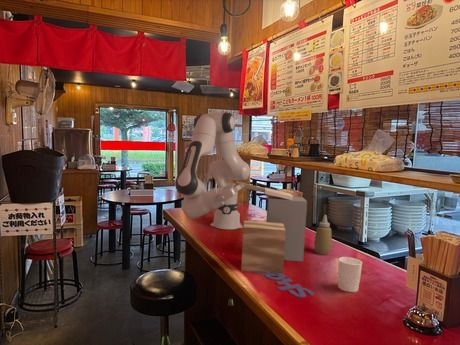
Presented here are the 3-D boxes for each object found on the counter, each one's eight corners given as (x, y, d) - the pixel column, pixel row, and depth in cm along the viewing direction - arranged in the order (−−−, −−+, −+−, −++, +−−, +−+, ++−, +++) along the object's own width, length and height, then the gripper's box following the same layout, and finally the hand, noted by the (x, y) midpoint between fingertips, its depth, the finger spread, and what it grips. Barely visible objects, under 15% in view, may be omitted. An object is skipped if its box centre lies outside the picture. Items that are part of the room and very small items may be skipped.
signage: (316, 293, 112) (293, 298, 108) (316, 295, 112) (292, 300, 108) (268, 264, 137) (247, 267, 133) (268, 266, 137) (247, 269, 133)
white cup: (347, 294, 114) (349, 265, 113) (331, 285, 121) (333, 257, 120) (364, 291, 117) (367, 263, 116) (348, 282, 124) (350, 256, 123)
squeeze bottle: (319, 249, 163) (321, 212, 162) (334, 253, 158) (337, 215, 156) (310, 252, 158) (312, 214, 156) (325, 257, 152) (328, 217, 150)
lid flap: (236, 183, 155) (237, 180, 155) (289, 196, 154) (290, 193, 154) (235, 186, 145) (236, 183, 145) (292, 200, 144) (293, 196, 144)
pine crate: (242, 260, 142) (244, 220, 141) (280, 263, 141) (282, 223, 140) (241, 270, 130) (243, 227, 129) (282, 273, 129) (285, 230, 128)
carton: (264, 250, 157) (267, 195, 155) (299, 252, 156) (303, 197, 154) (265, 258, 145) (269, 199, 143) (303, 261, 144) (307, 201, 142)
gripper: (210, 194, 140) (240, 179, 139) (215, 188, 161) (241, 175, 159) (217, 208, 141) (247, 193, 139) (221, 200, 161) (247, 187, 160)
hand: (244, 183), depth 150 cm, fingers closed on lid flap, 4 cm apart
